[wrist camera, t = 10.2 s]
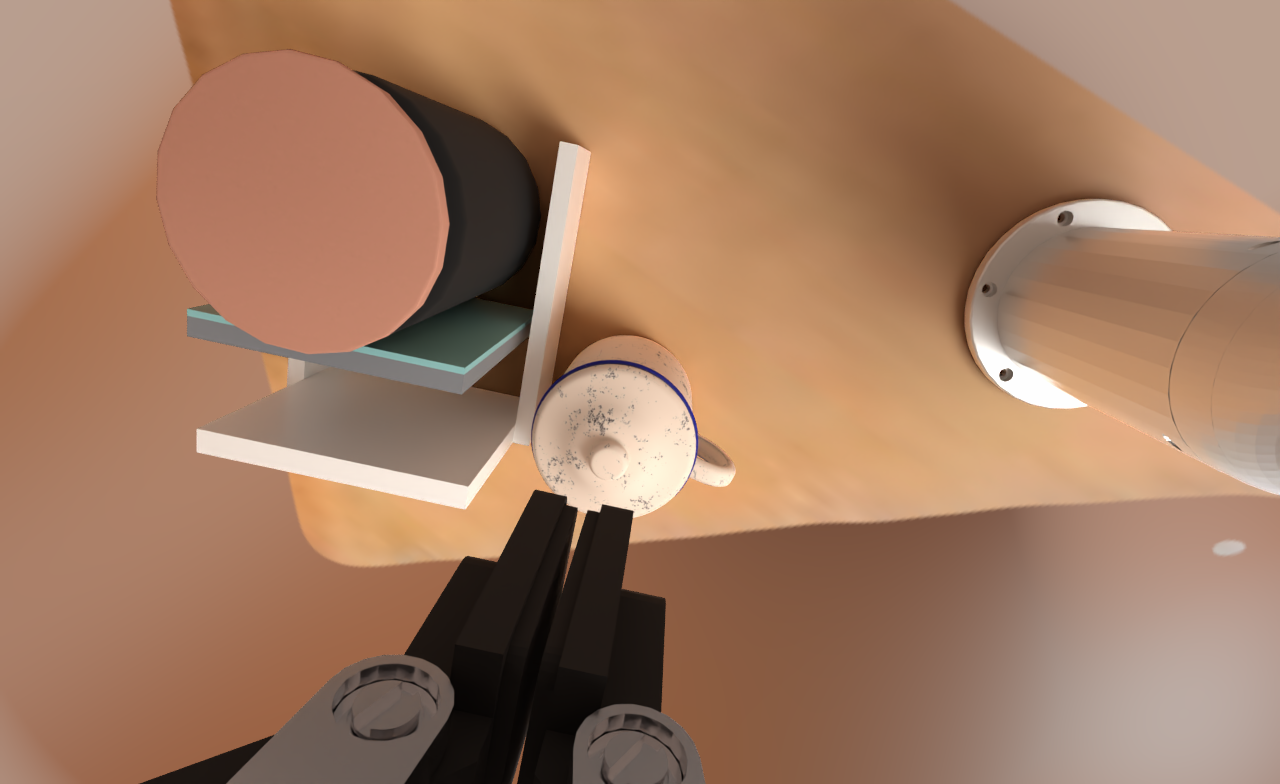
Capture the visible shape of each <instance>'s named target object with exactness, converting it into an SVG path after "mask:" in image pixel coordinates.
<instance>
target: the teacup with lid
mask: <svg viewBox="0 0 1280 784" xmlns="http://www.w3.org/2000/svg"><path fill="white" fill-rule="evenodd" d="M531 445H532V451H533V455H534V459H535V462H536V465H537V467H538V470H539V472H540V474H541V476H542V477H543V479H544V481H545V482H546V484H547V485H548V486H549V488H550V489H551V490H552V491H553V492H554V493H555V494H558V495H562V496H567V504H568V505H570V506H572V507H577V508H578V510H579V511H581V512H583V513H586V514H587V510H591V511H596V512H600V510H601V506H602V504H604V505H609V506H614V507H619V508H623V509H628V510H633V511H634V513H633V518H634V517H638V516H642V515H645V514H648V513H650V512H652V511H654V510H656V509H658V508H660V507H661V506H663V505H664V504H666V503H667V502H668V501H670V500H671V499H672V498H673V497H674V496H675V495H676V494H677V493H678V492H679V491H680V490H681V489H682V487H683V486H684V485H685V483H686V482H687V480H688V478H689V477H690V478H692V479H694V480H697V481H699V482H701V483H704V484H707V485H710V486H716V487H723V486H727V485H728V484H729V483H730V482H731V481H732V479H733V477H734V475H735V466H734V463H733V462H732V460H731V459H730V457H729V456H728V455H727V454H726V453H725V452H724V451H723V450H722V449H721V448H720V447H719V446H717V445H716V444H715V443H713V442H712V441H710V440H708V439H707V438H705V437H703V436H701V435H699V434H698V431H697V425H696V421H695V418H694V415H693V413H692V394H691V387H690V383H689V380H688V377H687V375H686V372H685V371H684V369H683V367H682V366H681V364H680V363H679V361H678V360H677V359H676V358H675V356H674V355H673V354H672V353H671V352H669V351H668V350H667V349H666V348H664V347H663V346H661V345H660V344H658V343H656V342H654V341H652V340H649V339H646V338H643V337H639V336H632V335H618V336H612V337H608V338H604V339H601V340H599V341H597V342H595V343H593V344H591V345H590V346H588V347H587V348H585V349H584V350H583V351H582V352H581V353H580V354H579V355H578V356H577V357H576V358H575V359H574V360H573V362H572V363H571V365H570V366H569V367H568V369H567V370H566V372H565V373H564V375H563V376H561V377H560V378H559V379H558V380H556V381H555V382H554V383H553V384H552V385H551V386H550V388H549V389H548V390H547V391H546V393H545V394H544V396H543V397H542V399H541V400H540V402H539V404H538V406H537V409H536V412H535V414H534V418H533V422H532V429H531ZM697 456H699V457H701V458H702V459H704V460H705V461H704V460H702V459H700V458H698V457H697Z"/></svg>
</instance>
